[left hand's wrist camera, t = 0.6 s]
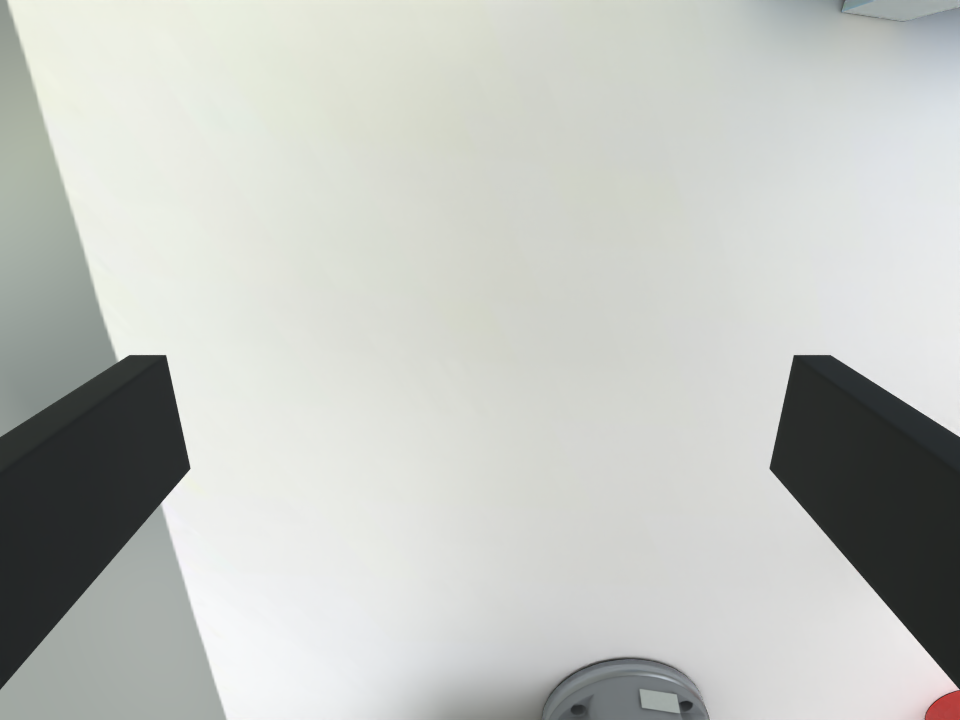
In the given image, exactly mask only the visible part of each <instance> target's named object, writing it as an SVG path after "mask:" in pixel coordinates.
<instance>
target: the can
mask: <svg viewBox="0 0 960 720" xmlns="http://www.w3.org/2000/svg"><path fill="white" fill-rule="evenodd" d="M925 720H960V691H956V692H953V693H950V694H948V695H945V696H943V697H942V698H940V699H939V700H937V701H936V702H935V703H934V704H933V705H932V706H931V707H930V708H929V710H928V711H927V713H926V717H925Z"/></svg>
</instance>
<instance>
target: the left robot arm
mask: <svg viewBox="0 0 960 720" xmlns="http://www.w3.org/2000/svg"><path fill="white" fill-rule="evenodd" d="M189 470H190V464H189V459H188V455H187V450H186V445H185V441H184V436H183V432H182V427H181V422H180V418H179V413H178V408H177V404H176V399H175V394H174V390H173V385H172V380H171V376H170V371H169V367H168V362H167V357H166V355H129V356H127V357H126V358H124V359H123V360H121V361H120V362H118V363H116V364H115V365H113V366H112V367H110V368H109V369H107V370H105V371H104V372H102V373H101V374H99V375H97V376H96V377H94V378H93V379H91V380H90V381H88V382H87V383H85V384H83V385H82V386H80V387H79V388H77V389H75V390H74V391H72V392H71V393H69V394H68V395H66V396H64V397H63V398H61V399H60V400H58V401H57V402H55V403H53V404H52V405H50V406H49V407H47V408H46V409H44V410H42V411H41V412H39V413H38V414H36V415H35V416H33V417H31V418H30V419H28V420H27V421H25V422H24V423H22V424H20V425H19V426H17V427H16V428H14V429H13V430H11V431H9V432H8V433H6V434H5V435H3V436H1V437H0V689H1V688H2V687H3V686H4V685H5V683H6V682H7V681H8V680H9V679H10V678H11V677H12V675H13V674H14V673H15V672H16V671H17V670H18V668H19V667H20V666H21V665H22V664H23V663H24V661H25V660H26V659H27V658H28V657H29V656H30V655H31V653H32V652H33V651H34V650H35V649H36V648H37V646H38V645H39V644H40V643H41V642H42V641H43V639H44V638H45V637H46V636H47V635H48V634H49V632H50V631H51V630H52V629H53V628H54V627H55V625H56V624H57V623H58V622H59V621H60V620H61V618H62V617H63V616H64V615H65V614H66V613H67V612H68V610H69V609H70V608H71V607H72V606H73V604H74V603H75V602H76V601H77V600H78V599H79V598H80V596H81V595H82V594H83V593H84V592H85V591H86V589H87V588H88V587H89V586H90V585H91V584H92V582H93V581H94V580H95V579H96V578H97V577H98V575H99V574H100V573H101V572H102V571H103V570H104V569H105V567H106V566H107V565H108V564H109V563H110V562H111V560H112V559H113V558H114V557H115V556H116V555H117V553H118V552H119V551H120V550H121V549H122V548H123V546H124V545H125V544H126V543H127V542H128V541H129V539H130V538H131V537H132V536H133V535H134V534H135V533H136V531H137V530H138V529H139V528H140V527H141V526H142V524H143V523H144V522H145V521H146V520H147V519H148V517H149V516H150V515H151V514H152V513H153V512H154V510H155V509H156V508H157V507H158V506H159V505H160V504H161V502H162V501H163V500H164V499H165V498H166V497H167V495H168V494H169V493H170V492H171V491H172V490H173V488H174V487H175V486H176V485H177V484H178V483H179V481H180V480H181V479H182V478H183V477H184V476H185V474H186V473H187V472H188V471H189ZM770 470H771V471H772V472H773V473H774V474H775V476H776V477H777V478H778V479H779V480H780V481H781V483H782V484H783V485H784V486H785V487H786V488H787V490H788V491H789V492H790V493H791V494H792V495H793V497H794V498H795V499H796V500H797V501H798V502H799V504H800V505H801V506H802V507H803V508H804V509H805V510H806V512H807V513H808V514H809V515H810V516H811V517H812V519H813V520H814V521H815V522H816V523H817V524H818V526H819V527H820V528H821V529H822V530H823V531H824V533H825V534H826V535H827V536H828V537H829V538H830V540H831V541H832V542H833V543H834V544H835V545H836V546H837V548H838V549H839V550H840V551H841V552H842V553H843V555H844V556H845V557H846V558H847V559H848V560H849V562H850V563H851V564H852V565H853V566H854V567H855V569H856V570H857V571H858V572H859V573H860V574H861V576H862V577H863V578H864V579H865V580H866V581H867V582H868V584H869V585H870V586H871V587H872V588H873V589H874V591H875V592H876V593H877V594H878V595H879V596H880V598H881V599H882V600H883V601H884V602H885V603H886V605H887V606H888V607H889V608H890V609H891V610H892V612H893V613H894V614H895V615H896V616H897V617H898V618H899V620H900V621H901V622H902V623H903V624H904V625H905V627H906V628H907V629H908V630H909V631H910V632H911V634H912V635H913V636H914V637H915V638H916V639H917V641H918V642H919V643H920V644H921V645H922V646H923V648H924V649H925V650H926V651H927V652H928V653H929V655H930V656H931V657H932V658H933V659H934V660H935V661H936V663H937V664H938V665H939V666H940V667H941V668H942V670H943V671H944V672H945V673H946V674H947V675H948V677H949V678H950V679H951V680H952V681H953V682H954V684H955V685H956V686H957V687H958V688H959V689H960V437H959V436H957V435H955V434H954V433H952V432H951V431H949V430H947V429H946V428H944V427H943V426H941V425H940V424H938V423H936V422H935V421H933V420H932V419H930V418H929V417H927V416H925V415H924V414H922V413H921V412H919V411H918V410H916V409H914V408H913V407H911V406H910V405H908V404H907V403H905V402H903V401H902V400H900V399H899V398H897V397H896V396H894V395H892V394H891V393H889V392H888V391H886V390H885V389H883V388H881V387H880V386H878V385H877V384H875V383H874V382H872V381H870V380H869V379H867V378H866V377H864V376H863V375H861V374H859V373H858V372H856V371H855V370H853V369H851V368H850V367H848V366H847V365H845V364H844V363H842V362H840V361H839V360H837V359H836V358H834V357H833V356H831V355H794V357H793V362H792V367H791V371H790V376H789V380H788V385H787V390H786V394H785V399H784V404H783V408H782V413H781V418H780V422H779V427H778V432H777V436H776V441H775V445H774V450H773V455H772V459H771V464H770ZM542 720H709V715H708V713H707V710H706V707H705V705H704V702H703V700H702V697H701V695H700V693H699V691H698V689H697V687H696V686H695V685H694V683H693V682H692V681H691V680H690V679H689V678H687V677H686V676H685V675H684V674H682V673H681V672H679V671H677V670H675V669H673V668H671V667H669V666H667V665H664V664H660V663H657V662H653V661H647V660H637V659H624V660H614V661H608V662H603V663H599V664H596V665H593V666H590V667H587V668H585V669H583V670H581V671H579V672H577V673H575V674H573V675H572V676H570V677H569V678H567V679H566V680H565V681H563V682H562V683H561V684H560V685H559V686H558V687H557V688H556V689H555V690H554V691H553V692H552V694H551V695H550V697H549V698H548V700H547V702H546V704H545V707H544V710H543V715H542Z"/></svg>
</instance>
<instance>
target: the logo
mask: <svg viewBox="0 0 960 720" xmlns="http://www.w3.org/2000/svg"><path fill="white" fill-rule="evenodd" d="M958 7H960V0H845V2H844V5H843V9H842V12H846V13H852V14H859V15H865V16H872V17H878V18H885V19H891V20H898V21H908V20H912V19H916V18H920V17H923V16H927V15H931V14H935V13H939V12H943V11H946V10H950V9H954V8H958Z"/></svg>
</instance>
